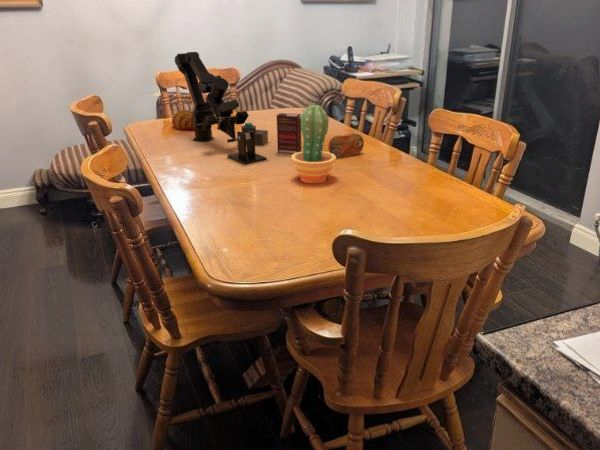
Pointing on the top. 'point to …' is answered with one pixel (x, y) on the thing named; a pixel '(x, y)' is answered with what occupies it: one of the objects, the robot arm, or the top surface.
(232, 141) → the lever
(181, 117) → the pastry
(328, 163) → the potted cactus
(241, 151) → the bracket
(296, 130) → the supplement box
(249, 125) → the button
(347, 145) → the tin
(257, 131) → the control block
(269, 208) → the top surface
